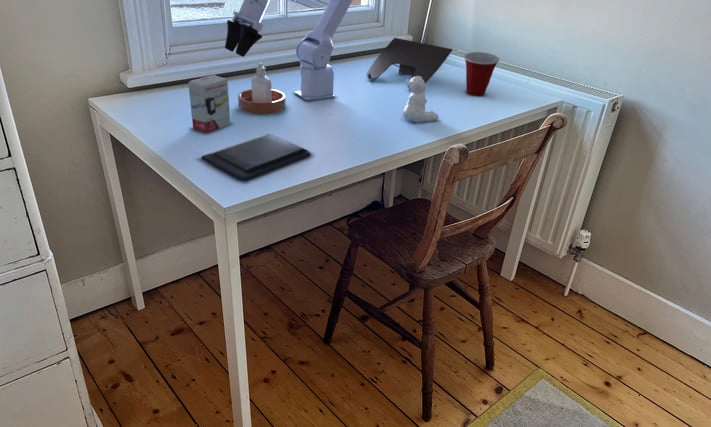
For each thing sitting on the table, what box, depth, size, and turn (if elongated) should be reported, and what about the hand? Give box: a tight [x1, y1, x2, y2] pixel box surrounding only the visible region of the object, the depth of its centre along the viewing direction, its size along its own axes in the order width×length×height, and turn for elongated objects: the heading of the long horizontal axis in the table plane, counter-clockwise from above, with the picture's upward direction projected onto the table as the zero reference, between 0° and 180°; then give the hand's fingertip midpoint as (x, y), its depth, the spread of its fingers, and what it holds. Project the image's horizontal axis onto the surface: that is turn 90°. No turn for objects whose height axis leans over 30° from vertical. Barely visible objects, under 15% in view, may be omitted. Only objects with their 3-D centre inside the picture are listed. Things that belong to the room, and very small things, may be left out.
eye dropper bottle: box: [251, 62, 272, 103], centre depth 139 cm, size 4×6×12 cm
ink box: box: [188, 74, 231, 134], centre depth 125 cm, size 9×5×12 cm, turn 148°
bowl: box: [237, 88, 287, 115], centre depth 141 cm, size 13×13×4 cm
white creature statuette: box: [403, 76, 439, 123], centre depth 138 cm, size 10×9×12 cm
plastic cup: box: [463, 51, 500, 97], centre depth 162 cm, size 11×11×12 cm
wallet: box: [201, 133, 311, 182], centre depth 113 cm, size 20×2×15 cm
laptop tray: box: [366, 37, 454, 92], centre depth 173 cm, size 23×23×9 cm
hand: (233, 52), depth 132 cm, fingers open, 7 cm apart
